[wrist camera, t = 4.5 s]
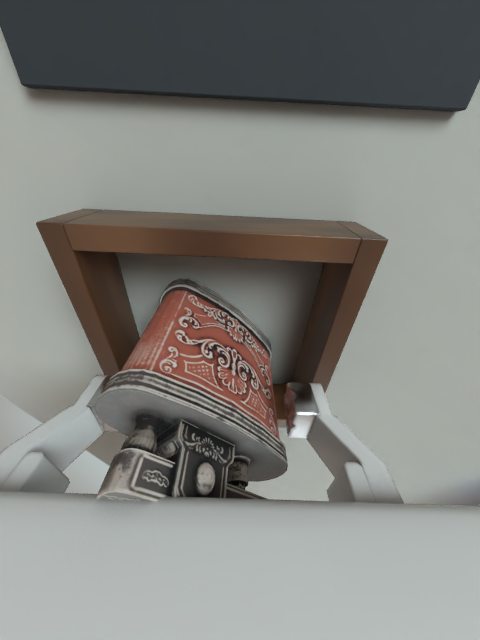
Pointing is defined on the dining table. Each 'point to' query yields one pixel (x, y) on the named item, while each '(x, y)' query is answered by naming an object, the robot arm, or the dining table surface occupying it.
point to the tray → (211, 241)
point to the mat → (253, 49)
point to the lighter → (193, 404)
